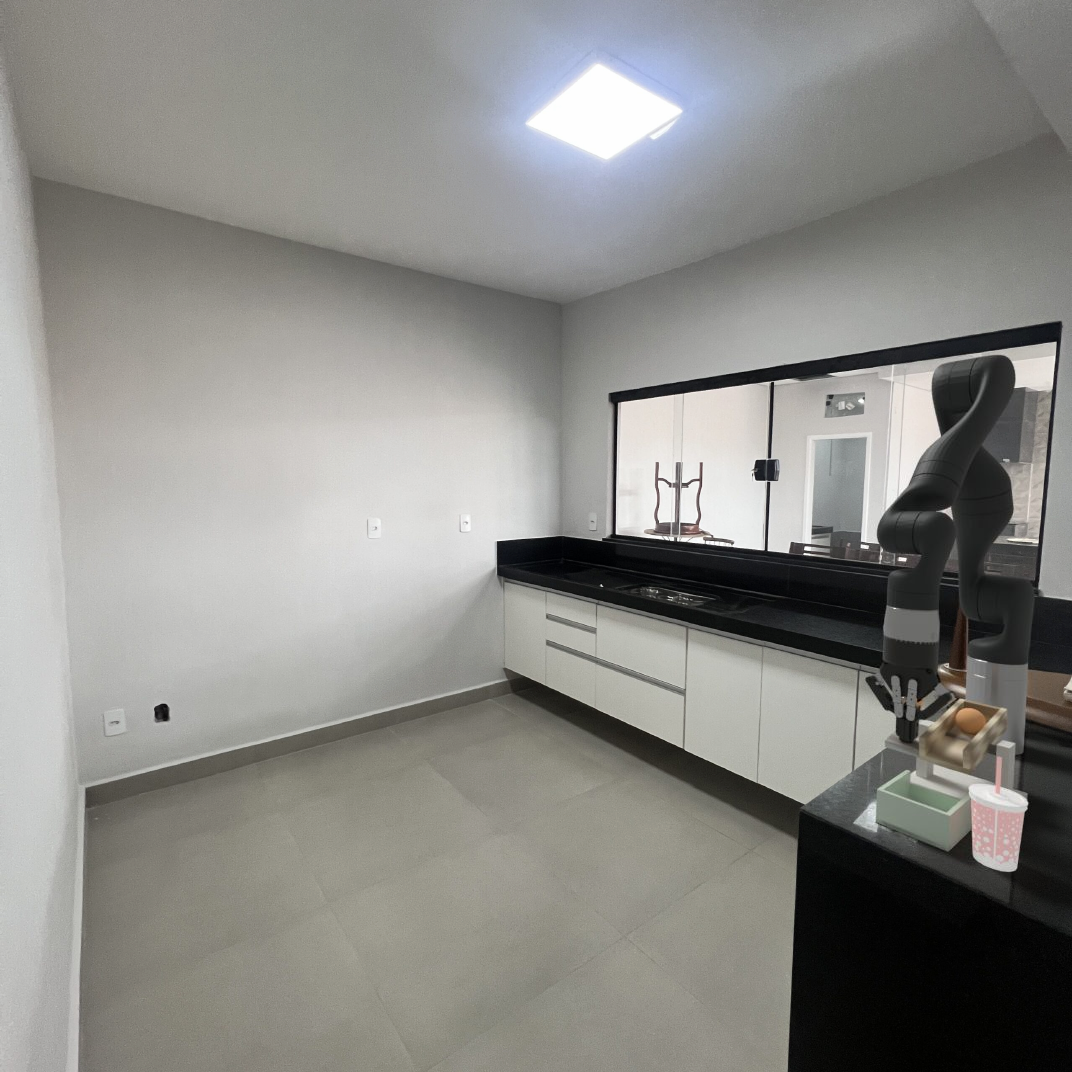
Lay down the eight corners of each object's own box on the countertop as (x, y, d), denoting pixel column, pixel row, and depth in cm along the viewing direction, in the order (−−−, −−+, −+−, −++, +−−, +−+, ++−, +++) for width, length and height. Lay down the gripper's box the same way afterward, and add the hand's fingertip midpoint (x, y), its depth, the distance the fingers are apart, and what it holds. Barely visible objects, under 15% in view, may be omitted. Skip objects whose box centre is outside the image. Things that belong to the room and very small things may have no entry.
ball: (962, 707, 99) (954, 703, 97) (991, 714, 96) (984, 709, 94) (958, 731, 98) (950, 726, 96) (986, 738, 95) (979, 734, 93)
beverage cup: (1025, 859, 77) (1031, 756, 76) (1023, 882, 73) (1029, 772, 72) (968, 841, 81) (972, 743, 81) (963, 861, 77) (967, 758, 76)
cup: (906, 799, 93) (908, 768, 93) (976, 824, 86) (977, 791, 85) (875, 822, 86) (876, 789, 86) (948, 851, 79) (949, 815, 79)
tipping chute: (927, 715, 107) (927, 691, 106) (1013, 737, 97) (1013, 710, 96) (885, 754, 96) (884, 727, 95) (976, 784, 86) (976, 753, 86)
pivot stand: (927, 767, 104) (929, 712, 104) (1027, 799, 93) (1030, 738, 93) (899, 787, 97) (901, 728, 96) (1003, 824, 86) (1007, 757, 85)
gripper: (968, 639, 91) (962, 748, 92) (877, 625, 101) (873, 723, 102) (950, 646, 86) (945, 760, 87) (857, 630, 97) (853, 732, 98)
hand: (906, 740), depth 95 cm, fingers closed
